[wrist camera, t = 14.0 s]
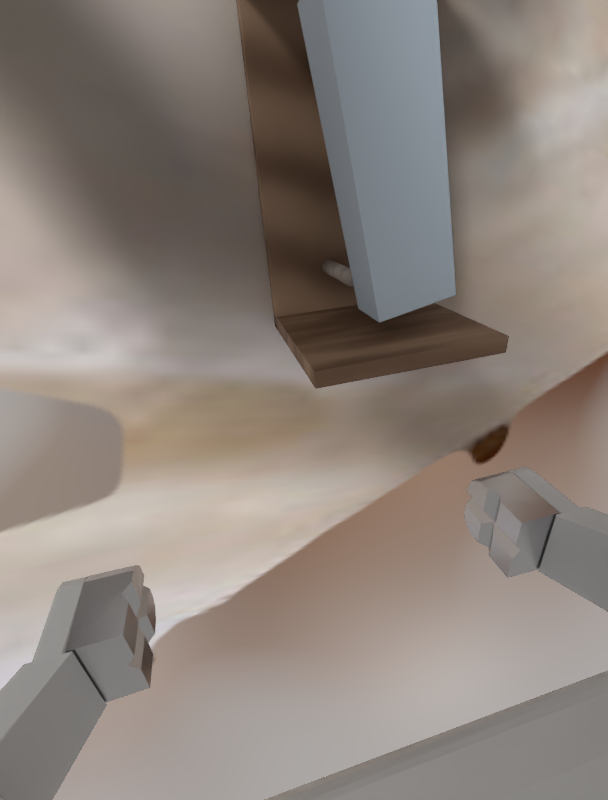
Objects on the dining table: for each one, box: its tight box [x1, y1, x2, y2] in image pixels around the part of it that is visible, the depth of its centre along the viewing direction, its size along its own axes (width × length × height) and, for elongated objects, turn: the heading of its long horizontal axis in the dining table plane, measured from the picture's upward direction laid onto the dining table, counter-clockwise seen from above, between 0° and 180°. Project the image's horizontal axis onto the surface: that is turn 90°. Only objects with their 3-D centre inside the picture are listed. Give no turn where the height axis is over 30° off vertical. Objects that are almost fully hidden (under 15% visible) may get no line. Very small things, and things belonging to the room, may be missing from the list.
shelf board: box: [297, 0, 456, 323], centre depth 25 cm, size 18×6×4 cm, turn 15°
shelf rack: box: [236, 0, 509, 388], centre depth 27 cm, size 24×14×14 cm, turn 5°
